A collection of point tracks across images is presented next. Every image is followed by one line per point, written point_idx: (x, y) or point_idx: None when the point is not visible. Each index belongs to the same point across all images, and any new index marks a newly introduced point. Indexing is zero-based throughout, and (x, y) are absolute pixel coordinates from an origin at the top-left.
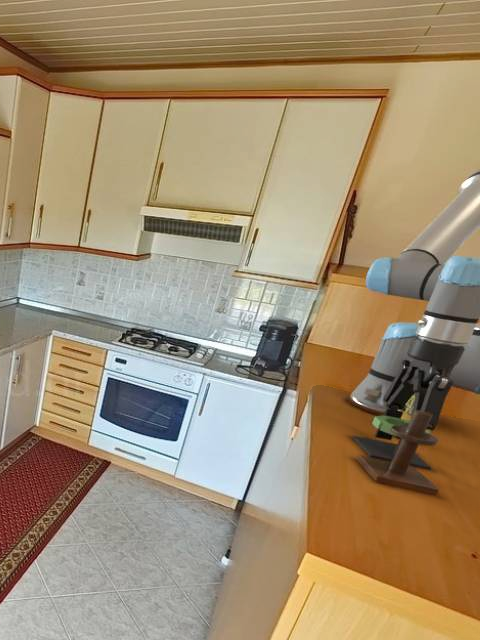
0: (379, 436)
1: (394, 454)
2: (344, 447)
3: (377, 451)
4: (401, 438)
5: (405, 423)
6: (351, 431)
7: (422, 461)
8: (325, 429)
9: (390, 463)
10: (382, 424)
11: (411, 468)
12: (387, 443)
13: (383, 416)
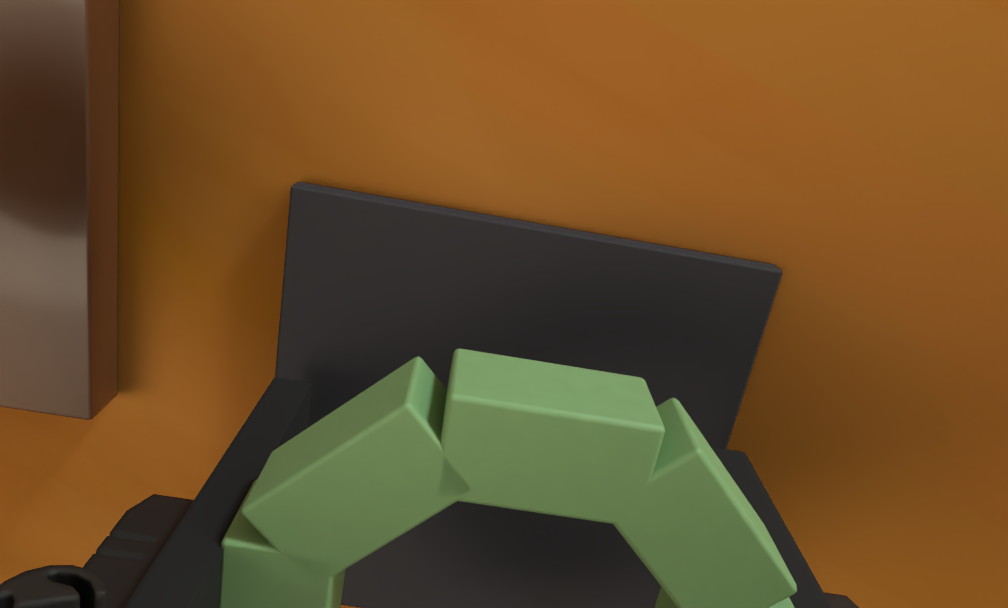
0: None
1: (285, 381)
2: (451, 11)
3: (417, 305)
4: (225, 478)
5: (96, 586)
6: (947, 351)
7: (362, 593)
8: (942, 58)
9: (32, 218)
10: (407, 395)
11: (21, 369)
12: None
13: (743, 579)
